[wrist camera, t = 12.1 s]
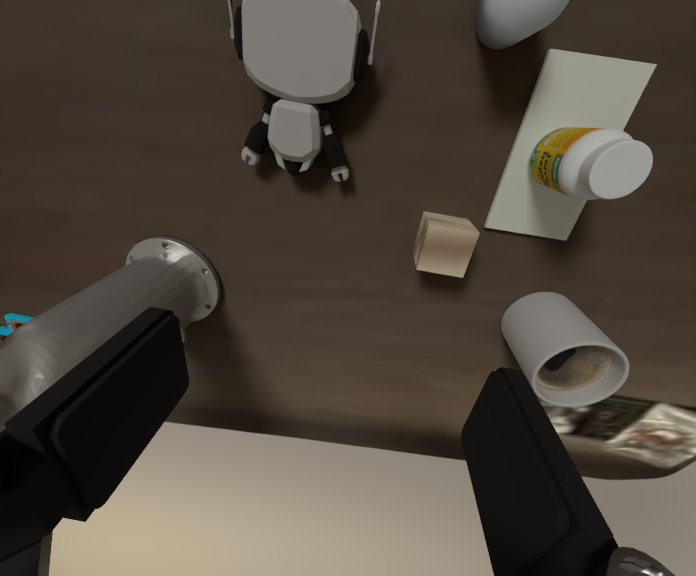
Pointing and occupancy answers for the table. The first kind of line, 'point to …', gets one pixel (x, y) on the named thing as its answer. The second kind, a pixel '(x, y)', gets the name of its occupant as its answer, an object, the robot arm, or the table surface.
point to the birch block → (444, 244)
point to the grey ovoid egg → (513, 20)
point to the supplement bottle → (590, 162)
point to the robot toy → (300, 74)
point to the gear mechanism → (13, 323)
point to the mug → (562, 351)
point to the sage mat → (557, 112)
